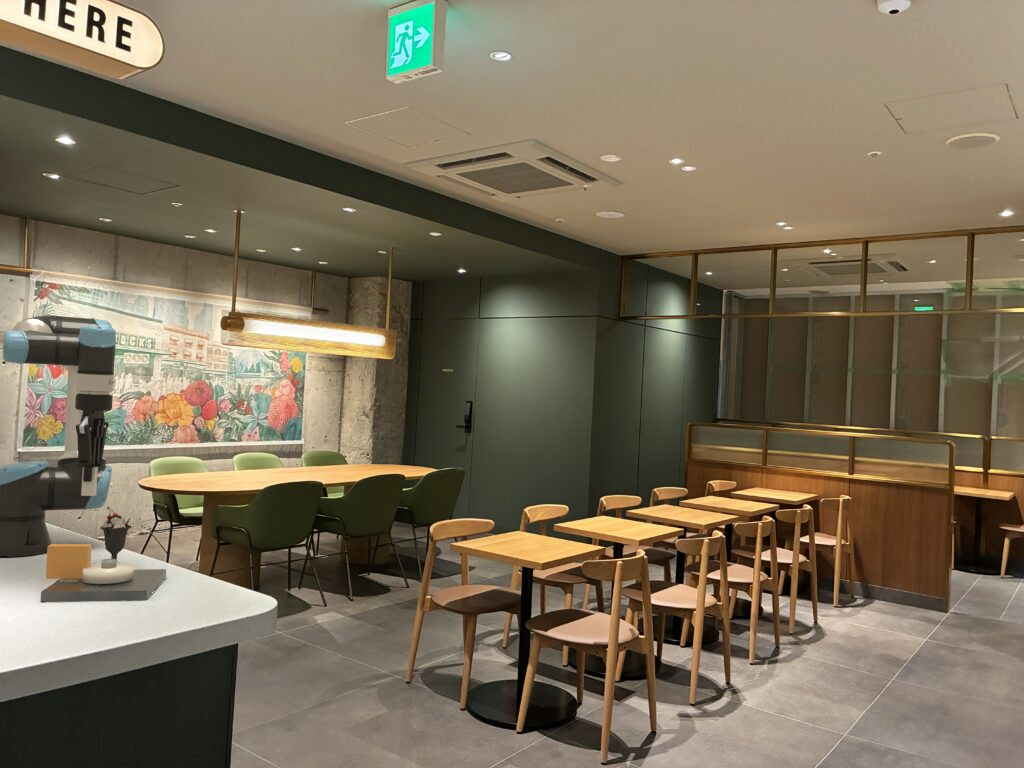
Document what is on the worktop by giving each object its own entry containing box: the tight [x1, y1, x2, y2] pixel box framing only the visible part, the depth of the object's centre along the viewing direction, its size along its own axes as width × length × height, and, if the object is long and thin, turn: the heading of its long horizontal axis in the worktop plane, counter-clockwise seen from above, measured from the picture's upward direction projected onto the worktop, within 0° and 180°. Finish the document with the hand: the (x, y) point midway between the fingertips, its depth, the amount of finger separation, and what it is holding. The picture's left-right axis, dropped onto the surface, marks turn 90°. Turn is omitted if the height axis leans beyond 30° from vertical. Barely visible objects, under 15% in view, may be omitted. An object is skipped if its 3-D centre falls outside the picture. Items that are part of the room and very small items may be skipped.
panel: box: [40, 568, 167, 603], centre depth 169 cm, size 20×20×2 cm
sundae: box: [100, 506, 132, 560], centre depth 189 cm, size 7×7×15 cm
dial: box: [45, 543, 135, 584], centre depth 168 cm, size 17×10×7 cm, turn 103°
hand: (88, 495), depth 177 cm, fingers closed
